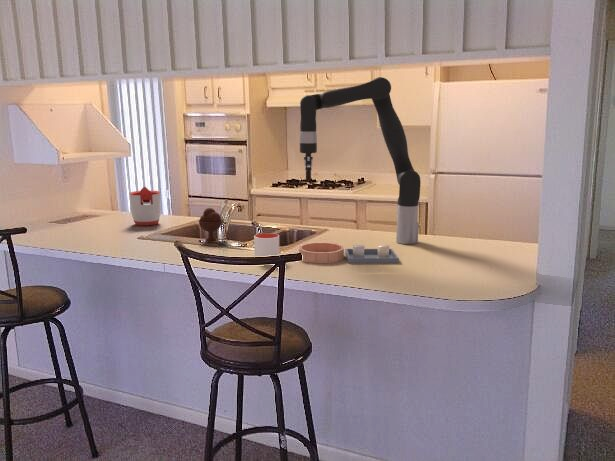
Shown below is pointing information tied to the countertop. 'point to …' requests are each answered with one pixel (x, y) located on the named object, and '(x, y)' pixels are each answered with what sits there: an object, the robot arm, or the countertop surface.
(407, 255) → the countertop surface
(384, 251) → the sandstone pebble
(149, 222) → the citrus juicer
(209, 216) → the ice cream bowl
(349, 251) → the parts tray
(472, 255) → the countertop surface
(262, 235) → the cup
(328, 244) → the terracotta bowl
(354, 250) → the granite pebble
